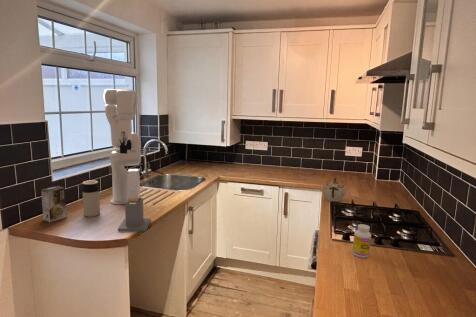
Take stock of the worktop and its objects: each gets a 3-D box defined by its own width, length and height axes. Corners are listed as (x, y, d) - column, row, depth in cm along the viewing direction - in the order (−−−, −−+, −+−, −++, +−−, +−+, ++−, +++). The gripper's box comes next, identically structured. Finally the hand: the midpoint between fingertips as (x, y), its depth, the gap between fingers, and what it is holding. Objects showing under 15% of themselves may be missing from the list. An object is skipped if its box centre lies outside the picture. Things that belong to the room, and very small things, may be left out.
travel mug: (100, 215, 169) (99, 183, 165) (84, 217, 165) (82, 184, 162) (99, 211, 176) (97, 179, 172) (83, 212, 172) (81, 180, 169)
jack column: (130, 208, 157) (129, 168, 153) (140, 208, 158) (139, 168, 154) (128, 211, 152) (127, 170, 149) (138, 211, 153) (137, 171, 149)
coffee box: (60, 214, 168) (58, 185, 165) (67, 217, 165) (65, 187, 162) (42, 219, 160) (40, 189, 157) (49, 222, 157) (47, 191, 154)
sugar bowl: (323, 194, 222) (325, 174, 219) (346, 197, 217) (348, 176, 214) (319, 202, 204) (321, 180, 202) (343, 206, 199) (346, 183, 196)
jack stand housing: (124, 221, 162) (123, 196, 160) (150, 221, 164) (150, 196, 161) (117, 231, 149) (116, 204, 147) (146, 231, 151) (145, 204, 148)
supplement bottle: (358, 259, 131) (362, 229, 129) (348, 251, 137) (351, 223, 135) (372, 257, 133) (375, 228, 130) (362, 250, 139) (365, 222, 137)
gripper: (121, 114, 160) (122, 148, 163) (112, 117, 143) (113, 154, 147) (136, 115, 161) (137, 148, 164) (129, 118, 144) (130, 155, 148)
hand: (125, 151), depth 155 cm, fingers open, 9 cm apart
